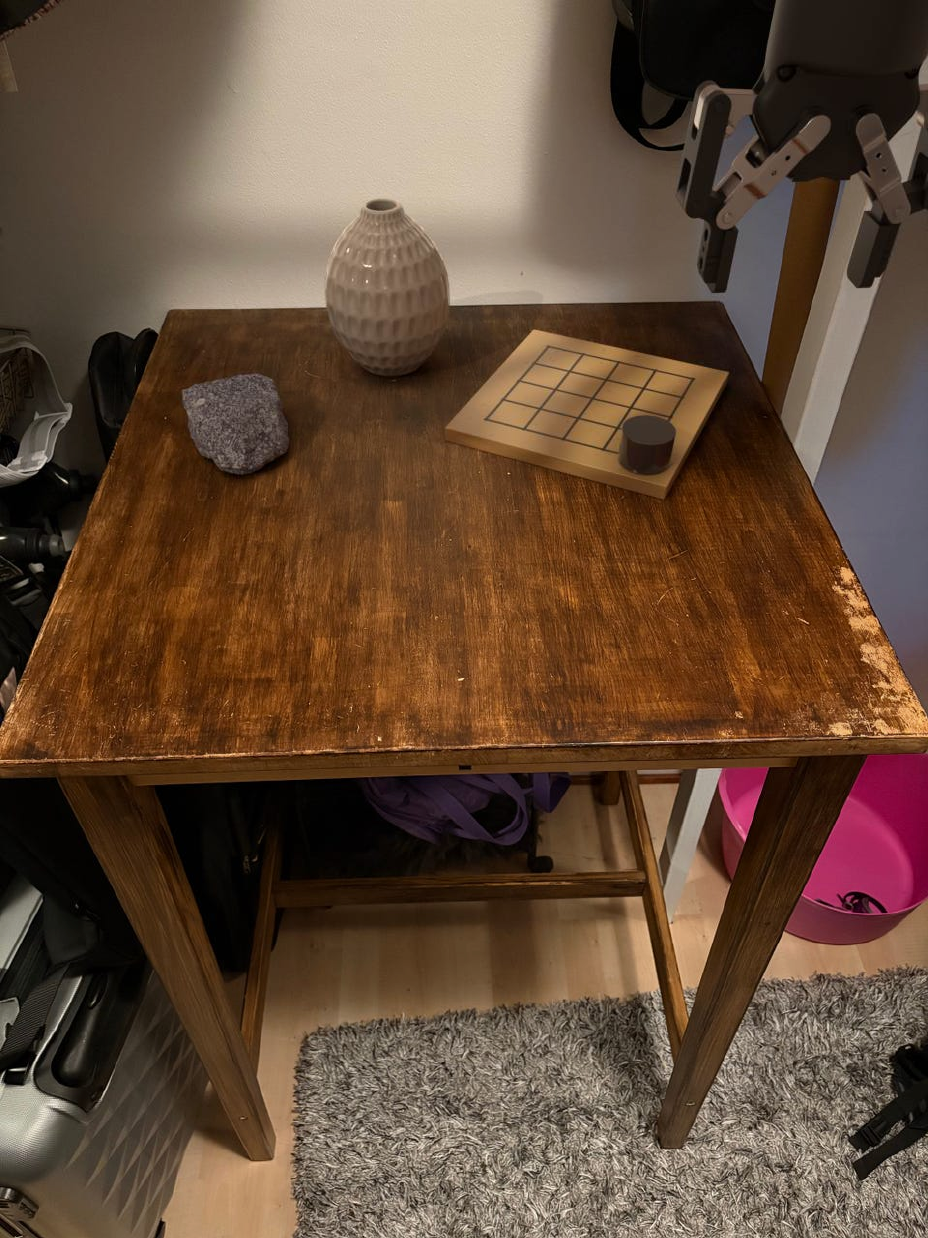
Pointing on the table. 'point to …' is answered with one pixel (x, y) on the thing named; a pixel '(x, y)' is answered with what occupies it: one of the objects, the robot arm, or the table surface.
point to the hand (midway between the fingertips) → (786, 285)
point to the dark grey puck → (646, 444)
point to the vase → (387, 290)
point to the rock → (237, 422)
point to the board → (586, 408)
